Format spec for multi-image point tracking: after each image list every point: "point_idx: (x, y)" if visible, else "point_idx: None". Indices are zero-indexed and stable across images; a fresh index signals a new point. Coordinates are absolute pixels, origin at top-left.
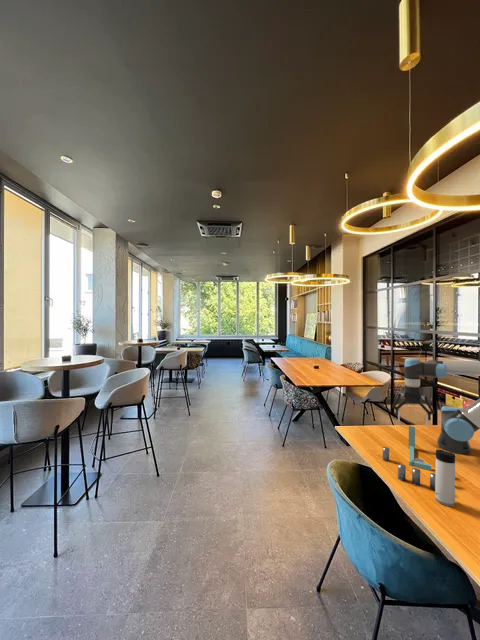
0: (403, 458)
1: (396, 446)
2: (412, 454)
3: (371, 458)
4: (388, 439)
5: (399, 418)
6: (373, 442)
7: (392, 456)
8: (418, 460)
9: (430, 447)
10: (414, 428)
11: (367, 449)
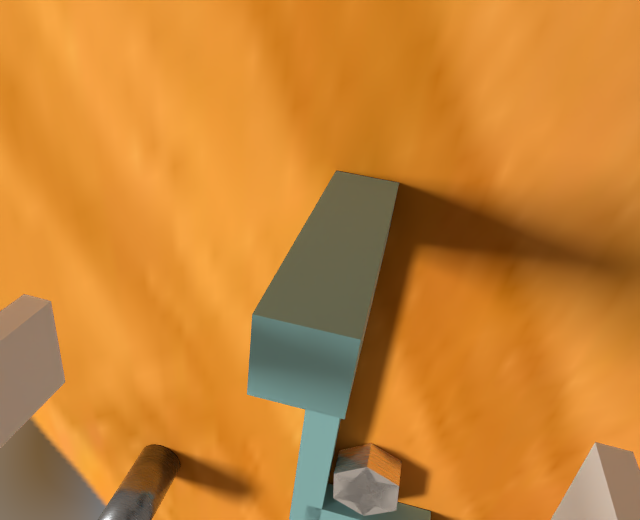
0: (267, 419)
1: (216, 209)
2: (326, 428)
3: (84, 459)
4: (122, 22)
5: (8, 438)
6: (18, 194)
7: (195, 408)
8: (355, 495)
9: (627, 68)
10: (334, 415)
11: None
